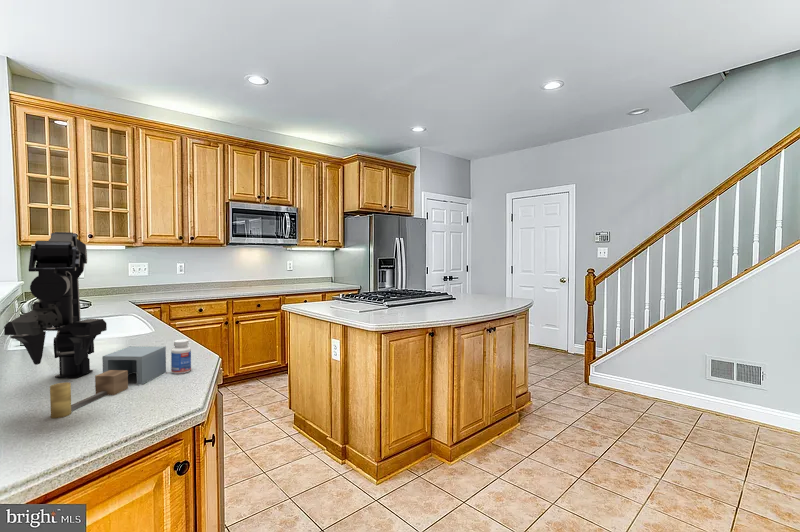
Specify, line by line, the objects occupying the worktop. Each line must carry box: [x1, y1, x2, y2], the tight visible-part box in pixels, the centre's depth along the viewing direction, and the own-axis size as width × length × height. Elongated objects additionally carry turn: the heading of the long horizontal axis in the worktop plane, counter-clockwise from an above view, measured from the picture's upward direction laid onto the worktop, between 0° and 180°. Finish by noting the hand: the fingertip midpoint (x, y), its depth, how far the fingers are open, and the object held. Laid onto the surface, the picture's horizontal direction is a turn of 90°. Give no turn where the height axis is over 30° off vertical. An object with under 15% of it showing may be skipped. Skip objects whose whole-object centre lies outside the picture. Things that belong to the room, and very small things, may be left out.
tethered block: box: [49, 370, 129, 419], centre depth 98 cm, size 5×19×7 cm, turn 177°
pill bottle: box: [170, 338, 192, 375], centre depth 123 cm, size 6×5×10 cm
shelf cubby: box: [101, 345, 167, 386], centre depth 116 cm, size 11×12×8 cm
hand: (57, 364), depth 89 cm, fingers open, 9 cm apart
